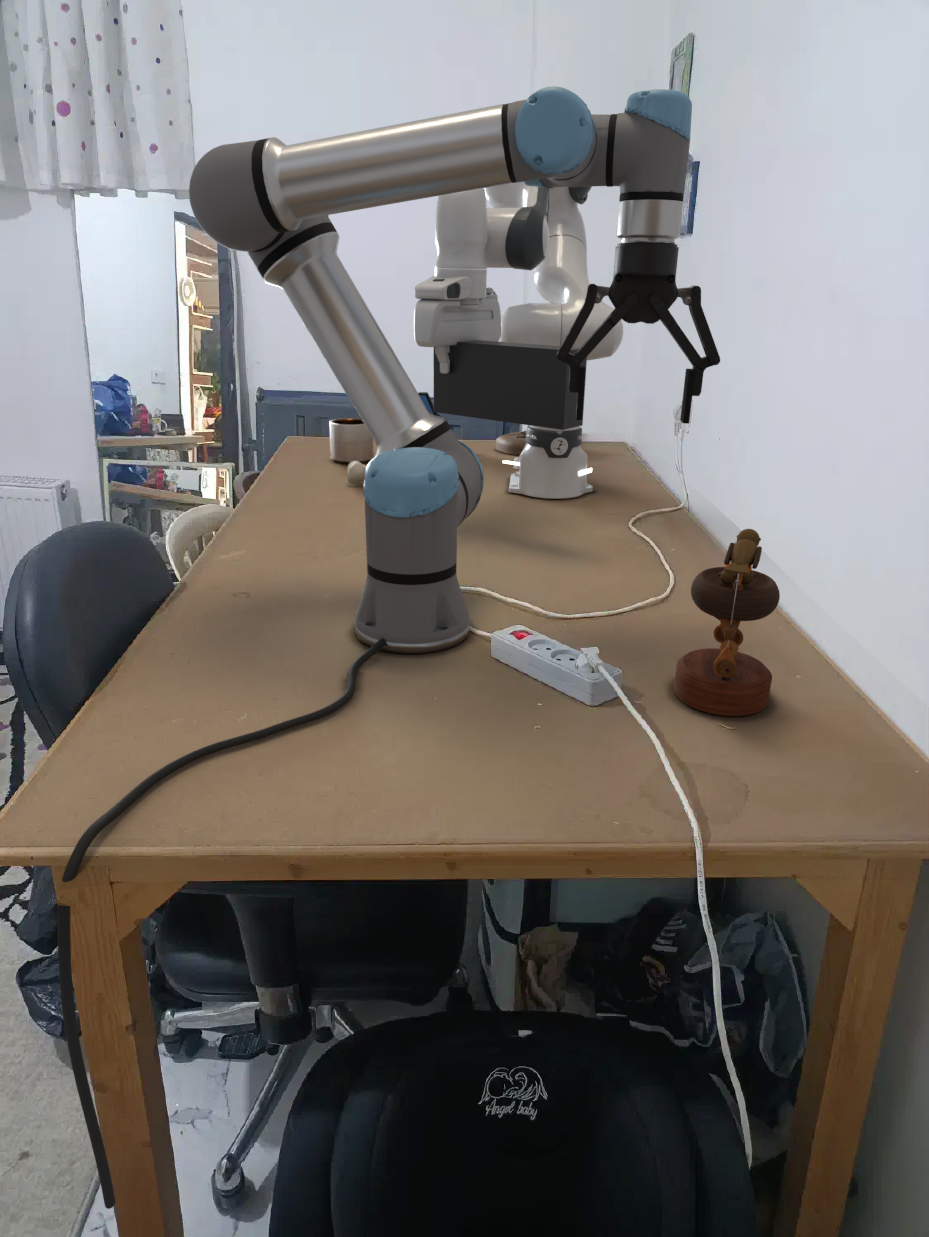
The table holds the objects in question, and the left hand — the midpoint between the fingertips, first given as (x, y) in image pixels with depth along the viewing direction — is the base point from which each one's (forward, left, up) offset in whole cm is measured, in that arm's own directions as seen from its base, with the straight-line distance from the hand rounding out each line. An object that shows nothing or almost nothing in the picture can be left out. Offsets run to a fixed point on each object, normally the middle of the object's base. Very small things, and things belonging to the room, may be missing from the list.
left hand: (631, 420), depth 110 cm
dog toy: (+73, +45, -27) cm, 90 cm away
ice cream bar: (+112, +13, -27) cm, 116 cm away
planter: (+96, +60, -27) cm, 117 cm away
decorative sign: (+112, +44, -27) cm, 123 cm away
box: (+35, +18, -6) cm, 40 cm away
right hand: (+41, +27, +1) cm, 49 cm away
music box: (-23, -11, -27) cm, 37 cm away
